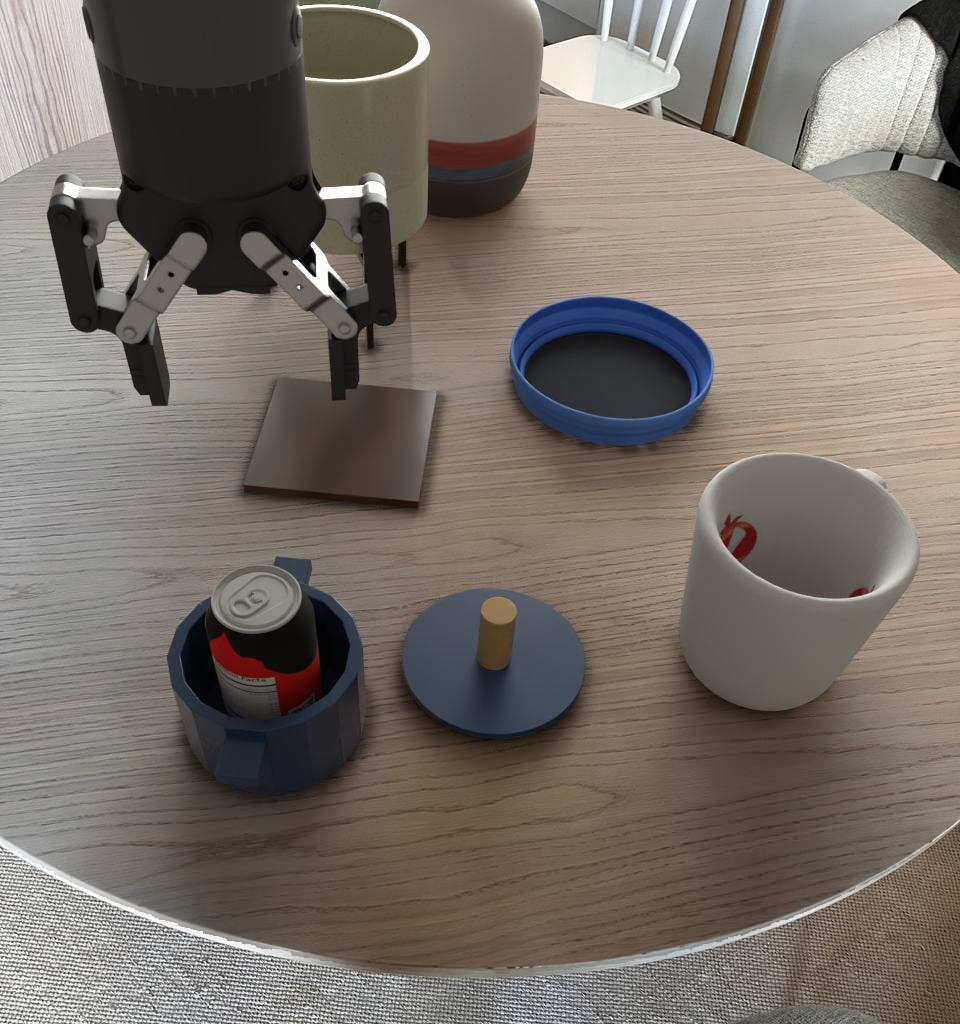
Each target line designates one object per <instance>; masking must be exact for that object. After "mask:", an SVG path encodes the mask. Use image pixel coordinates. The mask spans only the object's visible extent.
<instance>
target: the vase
mask: <svg viewBox="0 0 960 1024" xmlns="http://www.w3.org/2000/svg"><path fill="white" fill-rule="evenodd" d="M377 10H378V11H381V12H385V13H388V14H391V15H394V16H397V17H399V18H401V19H404V20H406V21H408V22H409V23H411V24H413V25H414V26H416V27H417V28H418V29H419V30H420V31H422V32H423V34H424V35H425V36H426V38H427V39H428V42H429V45H430V83H429V143H428V203H427V216H432V217H436V218H444V219H453V220H454V219H456V220H457V219H458V220H459V219H472V218H473V219H474V218H479V217H480V218H481V217H483V216H488V215H490V214H493V213H495V212H498V211H500V210H502V209H504V208H505V207H507V206H509V205H510V204H511V203H512V202H513V201H514V200H515V199H516V198H517V197H518V196H519V194H520V193H521V192H522V190H523V188H524V186H525V185H526V182H527V180H528V177H529V175H530V172H531V168H532V164H533V160H534V159H533V158H534V151H535V143H536V133H537V123H538V116H539V115H538V114H539V105H540V104H539V103H540V93H541V83H542V75H543V63H544V42H545V41H544V39H545V38H544V27H543V23H542V18H541V14H540V11H539V8H538V5H537V3H536V1H535V0H379V4H378V6H377Z"/></svg>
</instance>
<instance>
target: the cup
mask: <svg viewBox="0 0 960 1024" xmlns="http://www.w3.org/2000/svg"><path fill="white" fill-rule="evenodd" d="M692 534H693V535H692V541H691V547H690V553H689V558H688V563H687V571H686V576H685V582H684V588H683V594H682V600H681V604H680V605H681V606H680V611H679V620H678V621H679V623H678V634H679V635H678V636H679V637H678V638H679V643H680V648H681V651H682V655H683V657H684V660H685V661H686V663H687V665H688V667H689V669H690V670H691V672H692V674H693V675H694V676H695V677H696V679H697V680H698V681H699V682H700V683H701V684H703V685H704V686H705V687H706V688H707V689H708V690H709V691H710V692H712V693H713V694H714V695H716V696H718V697H719V698H721V699H722V700H725V701H727V702H728V703H731V704H733V705H736V706H739V707H741V708H742V707H743V708H746V709H749V710H755V711H766V712H778V711H787V710H791V709H794V708H798V707H801V706H804V705H805V704H808V703H810V702H812V701H814V699H816V698H818V697H819V696H820V695H822V694H823V693H825V691H827V689H829V688H830V687H831V686H832V685H833V683H835V682H836V681H837V679H838V678H839V677H840V675H842V674H843V672H844V670H845V669H846V668H847V667H848V666H849V664H850V663H851V662H852V660H853V659H854V658H855V657H856V655H857V654H858V653H859V652H860V650H861V649H862V648H863V647H864V645H865V644H866V642H867V641H868V640H869V639H870V638H871V636H872V635H873V633H875V631H876V630H877V628H879V626H880V625H881V623H882V622H883V620H884V619H885V618H886V617H887V616H888V614H890V612H891V610H892V609H893V608H894V607H895V606H896V604H897V603H898V601H900V599H901V598H902V597H903V595H904V594H905V593H906V591H907V590H908V589H909V588H910V586H911V584H912V582H913V581H914V578H915V577H916V575H917V571H918V568H919V565H920V560H921V546H920V538H919V535H918V532H917V528H916V526H915V524H914V523H913V521H912V518H911V517H910V515H909V513H908V511H907V510H906V509H905V507H904V506H903V505H902V504H901V503H900V502H899V500H898V499H897V498H896V497H895V496H894V495H893V494H892V493H891V492H889V491H888V489H887V483H886V481H885V480H884V478H883V477H882V476H880V475H878V474H876V472H873V471H871V470H869V469H867V468H862V467H861V468H853V467H851V466H848V465H847V464H844V463H842V462H839V461H836V460H832V459H829V458H827V457H826V458H825V457H822V456H819V455H812V454H807V453H800V452H783V451H782V452H780V451H779V452H767V453H761V454H756V455H752V456H748V457H745V458H743V459H740V460H737V461H735V462H732V463H731V464H729V465H728V466H726V467H725V468H723V469H722V470H721V471H719V472H718V473H717V474H716V475H715V476H714V477H713V478H712V479H711V480H710V482H709V483H708V484H707V485H706V487H705V489H704V490H703V492H702V495H701V496H700V500H699V503H698V506H697V511H696V517H695V523H694V529H693V533H692Z"/></svg>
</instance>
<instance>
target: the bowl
mask: <svg viewBox="0 0 960 1024" xmlns="http://www.w3.org/2000/svg"><path fill="white" fill-rule="evenodd" d="M508 358H509V364H510V371H511V374H512V377H513V382H514V387H515V391H516V394H517V395H518V397H519V400H520V401H521V403H522V404H523V405H524V406H525V408H526V409H527V411H528V412H529V413H531V414H532V415H533V416H534V417H535V418H537V419H538V421H540V422H542V423H544V424H545V425H547V426H548V427H550V428H551V429H553V430H554V431H557V432H559V433H561V434H563V435H566V436H568V437H571V438H574V439H576V440H581V441H584V442H587V443H593V444H599V445H607V446H619V447H620V446H637V445H644V444H649V443H653V442H656V441H660V440H663V439H665V438H667V437H669V436H671V435H673V434H675V433H677V432H678V431H680V430H681V429H683V428H684V427H685V426H686V425H688V423H689V422H690V421H692V419H693V418H694V417H695V415H696V413H697V411H698V409H699V408H700V407H701V405H702V404H703V403H704V401H705V400H706V397H707V395H708V394H709V392H710V389H711V387H712V384H713V379H714V372H715V361H714V356H713V352H712V351H711V349H710V347H709V345H708V344H707V342H706V340H705V339H704V338H703V337H702V336H701V335H700V333H698V331H697V330H695V329H694V328H693V327H692V326H690V324H688V323H687V322H686V321H684V320H682V319H681V318H679V317H678V316H676V315H674V314H672V313H670V312H668V311H666V310H664V309H662V308H659V307H656V306H655V305H651V304H649V303H647V302H642V301H640V300H635V299H630V298H625V297H620V296H619V297H617V296H607V295H603V296H602V295H591V296H580V297H579V296H578V297H573V298H567V299H563V300H559V301H557V302H554V303H551V304H548V305H545V306H543V307H541V308H538V309H536V310H535V311H533V312H532V313H530V314H529V315H528V316H526V318H524V319H523V320H522V321H521V322H520V324H519V325H518V326H517V328H516V330H515V331H514V333H513V335H512V338H511V343H510V349H509V357H508Z"/></svg>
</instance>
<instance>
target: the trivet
mask: <svg viewBox="0 0 960 1024" xmlns="http://www.w3.org/2000/svg"><path fill="white" fill-rule="evenodd" d="M437 400H438V391H437V390H427V389H417V388H416V389H415V388H405V387H396V386H395V387H394V386H385V385H373V384H363V383H358V386H357V388H356V389H346V400H339V401H332V391H331V380H321V379H311V378H302V377H301V378H299V377H291V376H290V377H289V376H281V375H280V376H278V377H277V379H276V383H275V386H274V388H273V391H272V395H271V398H270V401H269V404H268V408H267V410H266V413H265V417H264V420H263V423H262V425H261V428H260V431H259V435H258V437H257V441H256V444H255V446H254V450H253V453H252V455H251V460H250V462H249V465H248V469H247V471H246V475H245V478H244V479H243V483H242V488H243V492H244V493H250V494H251V493H252V494H259V495H271V496H279V497H281V496H282V497H293V498H302V499H314V500H323V501H332V502H333V501H334V502H343V503H344V502H345V503H353V504H364V505H375V506H386V507H394V508H395V507H396V508H404V509H405V508H406V509H416V510H417V509H418V510H419V508H420V503H421V497H422V491H423V485H424V479H425V474H426V473H425V472H426V466H427V461H428V454H429V448H430V444H431V437H432V432H433V425H434V419H435V413H436V408H437Z"/></svg>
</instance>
